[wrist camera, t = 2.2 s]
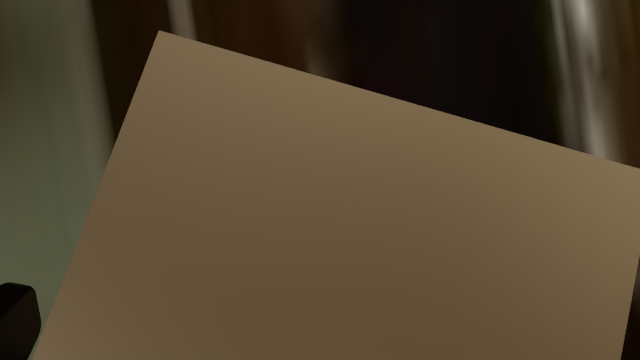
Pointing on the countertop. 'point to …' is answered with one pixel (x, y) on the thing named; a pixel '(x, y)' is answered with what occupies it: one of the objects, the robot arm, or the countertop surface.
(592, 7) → the countertop surface
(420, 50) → the countertop surface
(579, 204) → the oak post
